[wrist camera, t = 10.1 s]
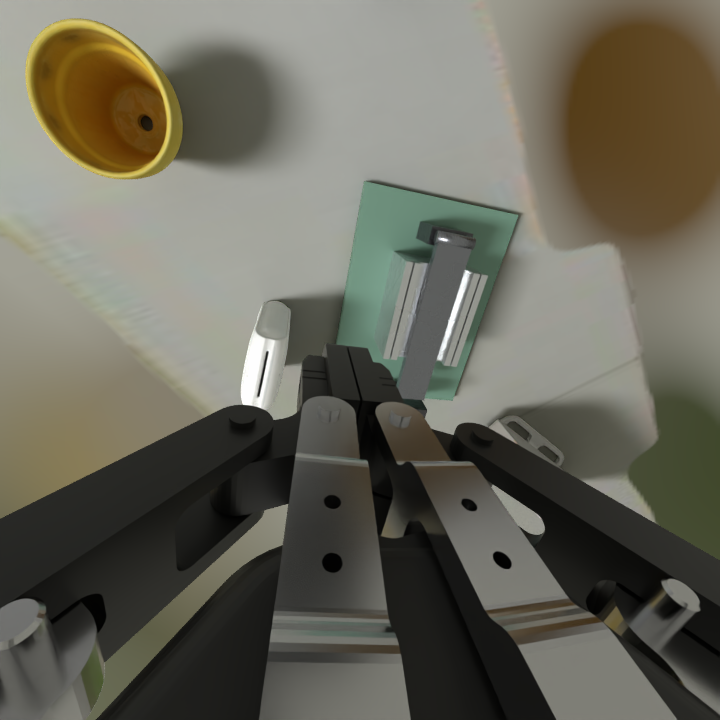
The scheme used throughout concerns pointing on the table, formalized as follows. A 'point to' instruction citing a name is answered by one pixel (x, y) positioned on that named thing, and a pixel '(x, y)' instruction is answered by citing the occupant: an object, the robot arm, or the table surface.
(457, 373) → the mainboard
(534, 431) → the network device
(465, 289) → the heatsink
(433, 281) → the grey flat bar
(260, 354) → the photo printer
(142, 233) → the table surface
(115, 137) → the plant pot
